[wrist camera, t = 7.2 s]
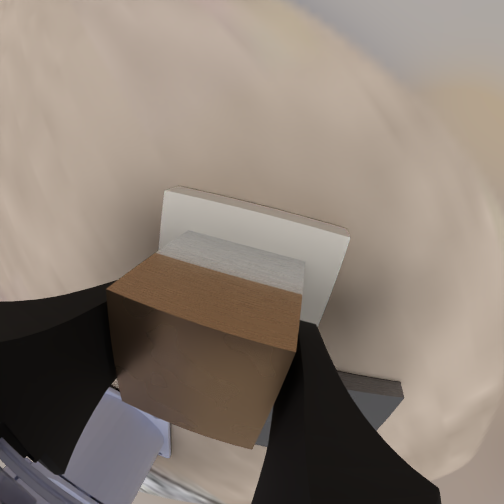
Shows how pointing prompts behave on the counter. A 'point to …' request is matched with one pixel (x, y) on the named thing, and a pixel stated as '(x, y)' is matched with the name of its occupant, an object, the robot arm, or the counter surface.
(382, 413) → the stand
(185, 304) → the block
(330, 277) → the stand
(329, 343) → the counter surface
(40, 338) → the robot arm
